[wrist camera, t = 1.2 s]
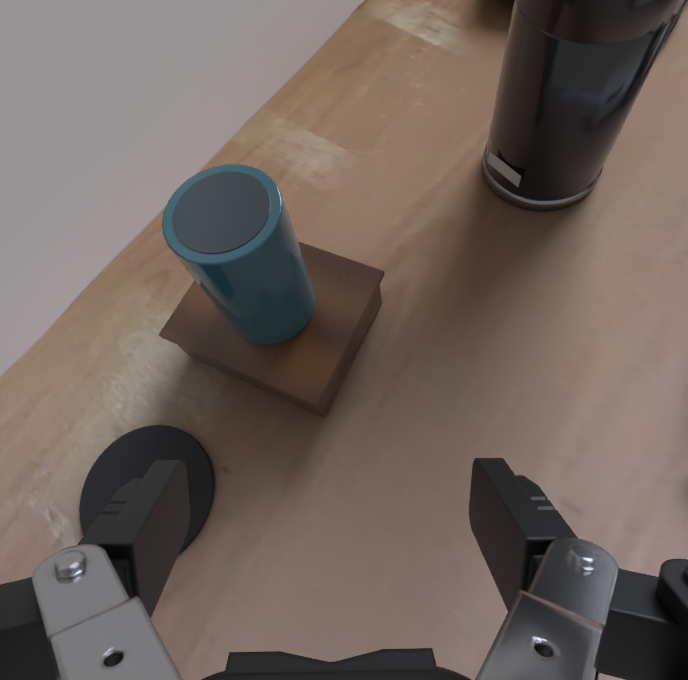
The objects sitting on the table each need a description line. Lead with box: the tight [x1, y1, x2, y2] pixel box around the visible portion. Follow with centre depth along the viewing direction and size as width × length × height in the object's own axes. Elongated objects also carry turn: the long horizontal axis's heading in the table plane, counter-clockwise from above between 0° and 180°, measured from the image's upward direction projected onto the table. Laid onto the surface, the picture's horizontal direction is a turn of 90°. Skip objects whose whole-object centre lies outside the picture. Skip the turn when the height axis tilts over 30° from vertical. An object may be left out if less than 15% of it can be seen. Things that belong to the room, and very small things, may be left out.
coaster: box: [80, 425, 214, 553], centre depth 34 cm, size 10×10×1 cm
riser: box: [159, 242, 384, 417], centre depth 36 cm, size 11×13×4 cm
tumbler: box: [162, 164, 316, 344], centre depth 30 cm, size 6×6×10 cm
